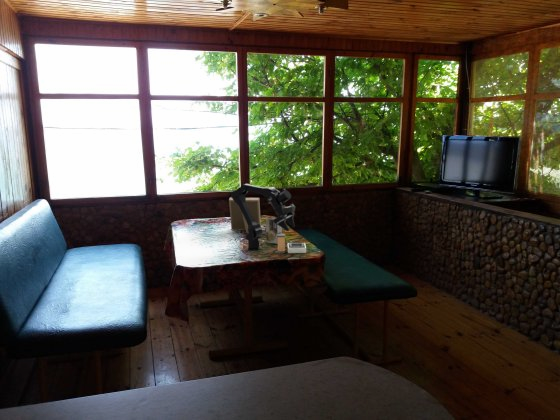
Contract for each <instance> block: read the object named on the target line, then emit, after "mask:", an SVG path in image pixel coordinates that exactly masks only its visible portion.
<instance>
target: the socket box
mask: <svg viewBox="0 0 560 420" xmlns="http://www.w3.org/2000/svg"><path fill="white" fill-rule="evenodd" d="M287 253H288V254H306V253H307V246H306V242H287Z"/></svg>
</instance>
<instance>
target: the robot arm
mask: <svg viewBox="0 0 560 420" xmlns="http://www.w3.org/2000/svg"><path fill="white" fill-rule="evenodd" d="M248 192H251V193H254V194H259V195H262V196H263V197H264V198H267V202H266V204H267V205H268V204H270V205H271V206H272V208H273V213H275V214H276V215H277V217H274V218H275V219H274V221H273V222H274V223H275V224H276V223H278V224H277V225H279V226H280V227H282V230H283V229H284V230H285V231H286V232H289V231H290V229H289V227H288V224H289V225H290V226H291V227H292V228H293V229H294V228H296V225H295V221H294V216H295V211H296V206H295V204H294V203H291V204H289V206H286V205H285V204H284V203H286V202H287V201H289V200H291V199H292V194H291V193H290V191H288V190H287V189H286V188H283V189H282V190H281V191H280V190H278V189H276V187H273V186H271V187H270V186H265V187H263V186H259V185H255V184H254V185H253V184H249V183H245V184H244V183H243V184H242V185H241V186H239V187H238V188H237V189H235V190H233V191H232V192H231V197H230V198H232V199H233V200H234V202H235V203H237V204H238V205H239V207H240V209H241V212H242V214H243V216H244V218H245V220H246V222H247V224H248V232H249V233H246V235H245V240H246V241H248V242H247V245H248V246H247V247H248V248H247V250H249V251H250V250H255V251H256V250H257V251H258V250H259V248H260V240H259V239H260V238H261V236H262V235H263V227H262V226H260V224H257V223H256V222H255V221H254V219H253V216H252V214H251V212H250V210H249V208H248V206H247V204H246V198H247V197H246V195H247V194H248ZM283 204H284V205H283ZM286 222H287V223H286Z"/></svg>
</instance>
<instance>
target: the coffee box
mask: <svg viewBox="0 0 560 420" xmlns="http://www.w3.org/2000/svg"><path fill="white" fill-rule="evenodd" d="M275 218H276V217H273V216H272V217H268V218H266V219H265V234H266V237H265V238H266V239H265V240H266V241H265V242H266V243H268V244H275V245H276V244H277V245H278V237H277V234H283V228H282V227H280V226H279V225H277V224H278V223H276V224H275V223H274V222H273V221H274V219H275Z"/></svg>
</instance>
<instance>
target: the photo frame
mask: <svg viewBox="0 0 560 420" xmlns="http://www.w3.org/2000/svg"><path fill="white" fill-rule="evenodd" d="M228 204H229V213H230V214H229V216H230V229H231V231H245V232H246V234H248V233H249V232H248V224H247V222H246V220H245V218H244V216H243V214H242V212H241V209H240V207H239V205H238V204H237V203H235V202H234V200H233V199H232V197H229V199H228ZM246 204H247V206H248V208H249V210H250V212H251V214H252V216H253V219H254V221H255V222H256V223H257V224H260V226H261V225H262V221H261V219H262V218H261V205H260V197H246ZM261 227H262V226H261Z"/></svg>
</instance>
